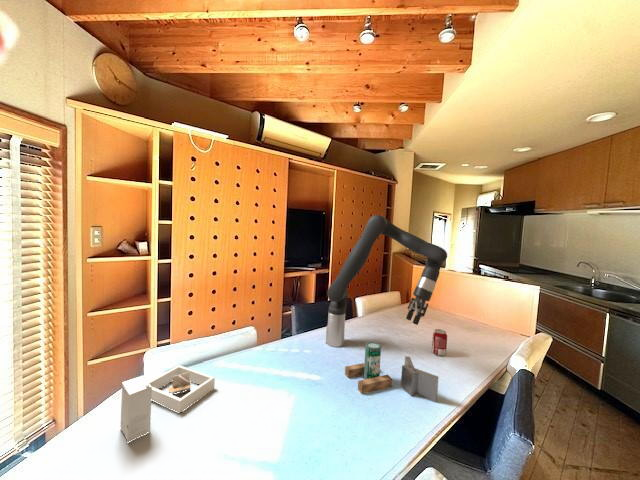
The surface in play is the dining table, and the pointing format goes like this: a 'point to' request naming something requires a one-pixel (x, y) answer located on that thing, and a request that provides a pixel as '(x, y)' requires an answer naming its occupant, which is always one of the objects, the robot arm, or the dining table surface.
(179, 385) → the architectural model
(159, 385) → the holder tray
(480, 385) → the dining table surface
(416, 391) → the v cradle
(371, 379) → the wooden bar pair
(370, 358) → the can
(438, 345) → the soda can
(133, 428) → the skincare box
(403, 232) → the robot arm
